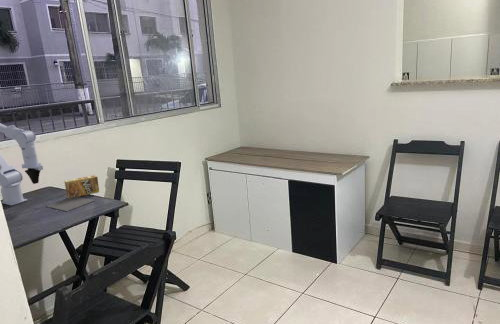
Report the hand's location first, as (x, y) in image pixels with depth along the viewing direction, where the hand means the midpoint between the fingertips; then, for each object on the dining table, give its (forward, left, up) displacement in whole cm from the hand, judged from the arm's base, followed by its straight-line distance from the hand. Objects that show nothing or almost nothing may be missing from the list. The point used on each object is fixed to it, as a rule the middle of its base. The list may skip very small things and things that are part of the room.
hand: (35, 183), depth 178 cm
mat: (+16, +6, -10) cm, 20 cm away
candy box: (+7, +10, -6) cm, 14 cm away
